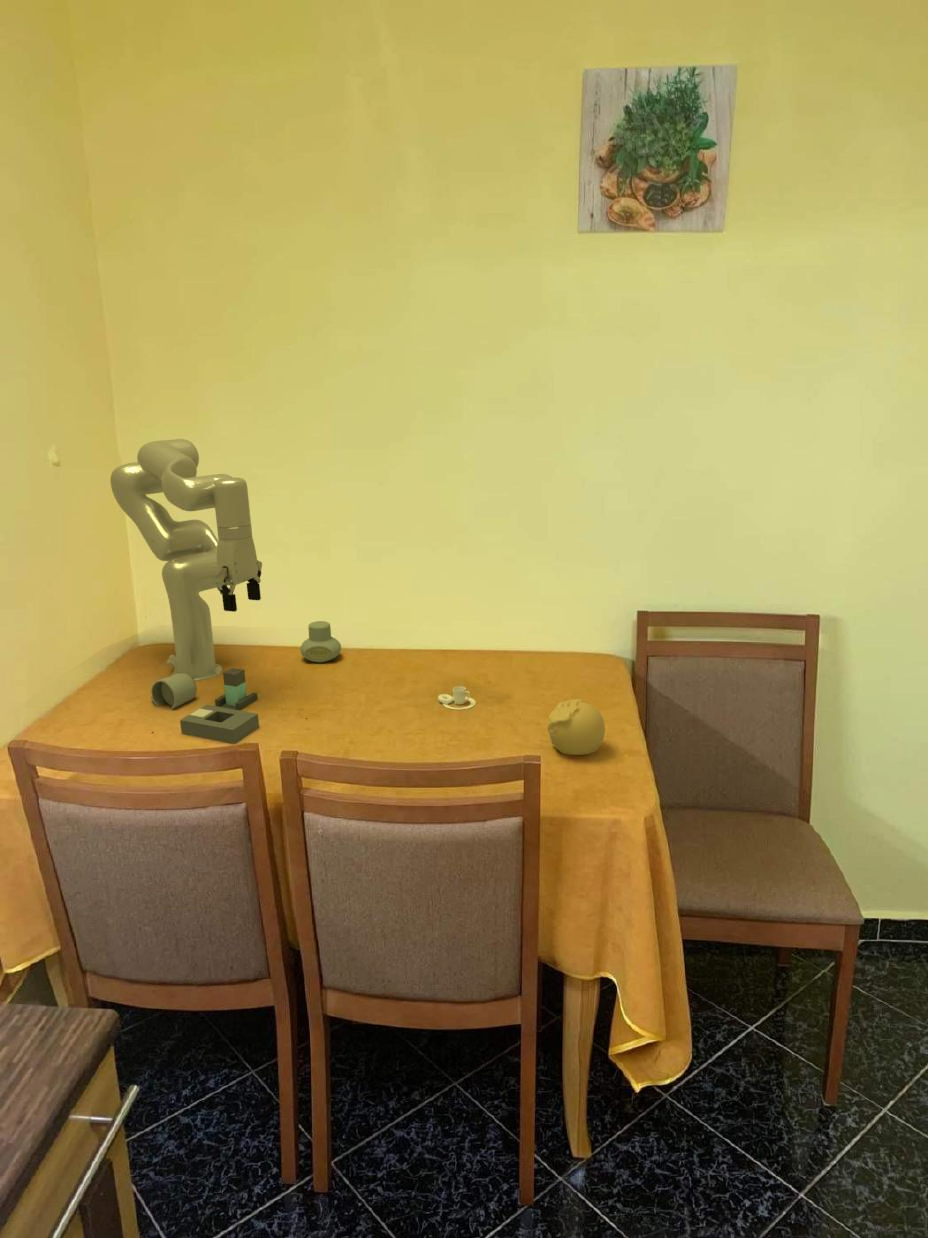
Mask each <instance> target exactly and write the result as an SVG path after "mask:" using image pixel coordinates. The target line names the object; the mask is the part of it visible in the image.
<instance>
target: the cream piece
mask: <svg viewBox="0 0 928 1238" xmlns="http://www.w3.org/2000/svg"><path fill="white" fill-rule="evenodd" d="M466 693H467V694H468V696H466ZM470 696H471V692H470V691H468V690H467V688H466V687H465V686H460V685H459V686H454V687H452V695H450V694H446V693H442V694H439V695H438V696H437V699H438V701H439V702H440V703H441V704H442V706H443V707H445V708H446V709H450V710H457V711H461V710H468V709H471V708H473V707H475V705H476V704H477V703H476V702H477V701H476V700H475V699H474V698H472V697H470ZM453 701H454V704H455V705H456V706H457V705H458V706H459V705H464V704H465V703H466V702H467V701H469V703H470V704H469V705H468V706H465V707H453V706H451V705H449V704H452V703H453Z"/></svg>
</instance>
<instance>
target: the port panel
mask: <svg viewBox="0 0 928 1238" xmlns="http://www.w3.org/2000/svg"><path fill="white" fill-rule="evenodd" d="M179 724H180V730H181V734H182V735H186V736H192V737H197V738H203V739H208V740H213V741H217V742H222V743H224V742H225V743H229V744H234V745H235V744H237V743H238V742H239V741H241V740H242V739H244V738H245V737H247V736H248V735H250V734H251V733H253V732H254V731H256V730H257V729H259V728H260V723H259V714H258V713H255V712H250V711H244V710H234V709H228V708H223V707H217V706H215V705H210V704H205V705H203V706H202V707H200V708H198V709H197V710H195V711H193V712H191V713H190V714H188V715H186V716H185V717H183V718H181V719H179Z"/></svg>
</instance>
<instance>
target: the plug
mask: <svg viewBox="0 0 928 1238" xmlns="http://www.w3.org/2000/svg"><path fill="white" fill-rule="evenodd" d="M222 675H223V676H222V677H223V687H224V694H225V697H226V704H227V705H233V706H235V703H237V702H238V701H240V700H242V699H243V698H245V697H246V696H248V694H247V682H246V673H245V669H242V668H236V667H231V668H230V669H229V668H228V670H226V671H224V672H222Z"/></svg>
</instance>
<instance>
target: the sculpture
mask: <svg viewBox="0 0 928 1238" xmlns="http://www.w3.org/2000/svg"><path fill="white" fill-rule="evenodd" d="M605 730H606V728H605V721H604V717H603V716H602V713H600V711H599V710H598V709H597V708H596V707H594V706H593V705H591V704H589V703H586V702H584V701H583V700H582V699H581V698H579V699H577V698H574V699H573V698H571V699H568V700H563V701H560V702H558V703H557V705H556V706H555V708H554V709H553V710H552V711H551V712H550V714H549V715H548V721H547V732H548V734H549V740H550V742H551V744H552V745H553V746H554V747H555V748H556V749H557V751H559V752H560V753H562V754H565V755H567V756H568V755H570V756H584V755H590V754H593V753H595V752H596V751H598V749H599V748H600V747H601V745H602V744H603V741H604V739H605V732H606V731H605Z"/></svg>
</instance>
